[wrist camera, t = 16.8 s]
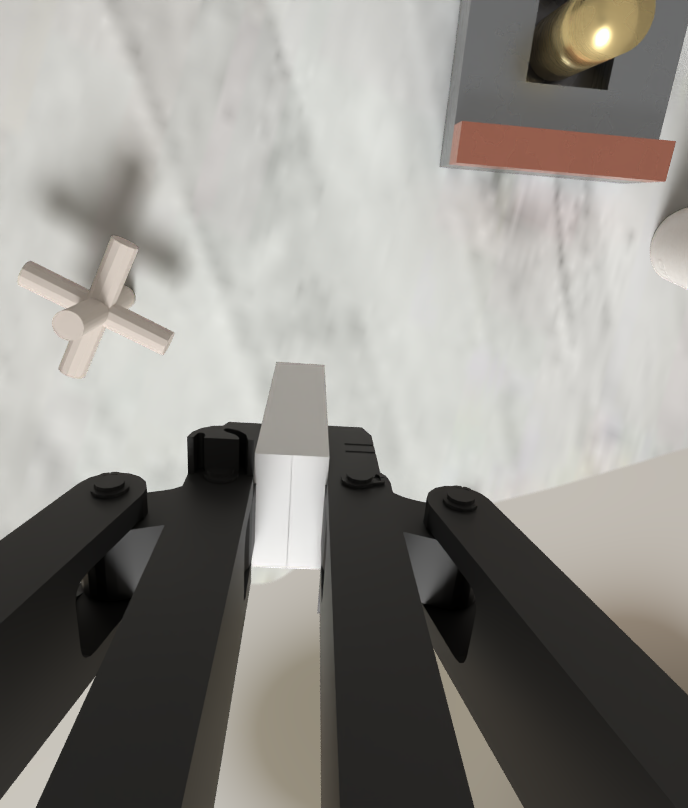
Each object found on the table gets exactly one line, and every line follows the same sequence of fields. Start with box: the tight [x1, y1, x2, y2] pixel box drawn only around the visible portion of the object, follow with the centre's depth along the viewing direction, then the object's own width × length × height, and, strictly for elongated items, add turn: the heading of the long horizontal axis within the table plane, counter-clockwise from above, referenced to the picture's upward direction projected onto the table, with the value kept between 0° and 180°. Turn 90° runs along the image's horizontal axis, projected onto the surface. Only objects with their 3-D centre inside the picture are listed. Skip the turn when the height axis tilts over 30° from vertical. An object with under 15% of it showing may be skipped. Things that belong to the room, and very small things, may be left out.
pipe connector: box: [17, 235, 174, 379], centre depth 37 cm, size 10×10×10 cm
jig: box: [440, 0, 688, 183], centre depth 35 cm, size 16×14×5 cm
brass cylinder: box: [529, 0, 656, 81], centre depth 33 cm, size 4×4×8 cm
